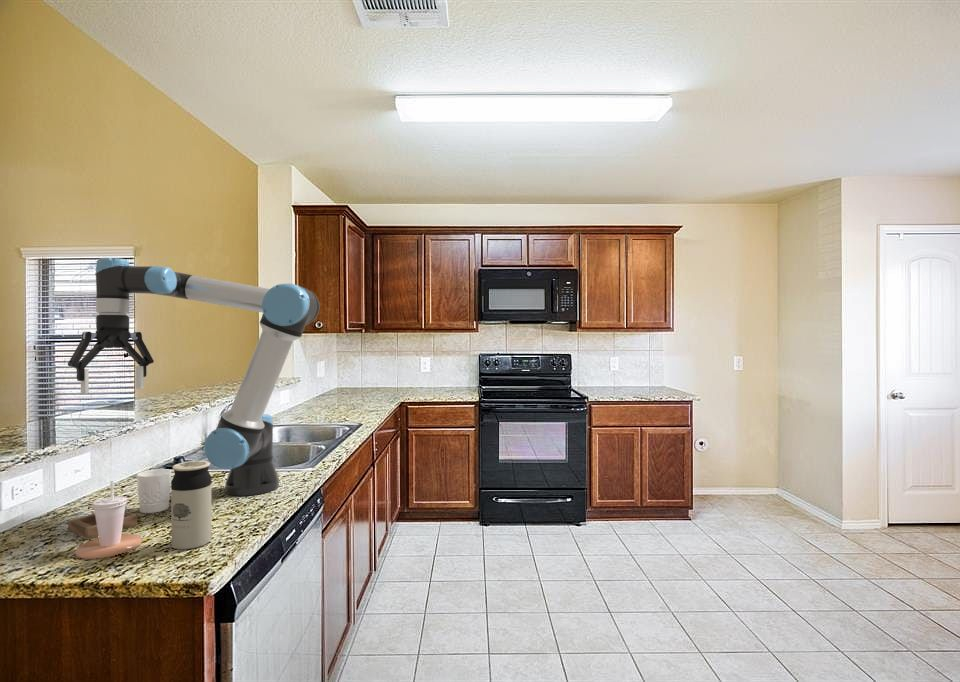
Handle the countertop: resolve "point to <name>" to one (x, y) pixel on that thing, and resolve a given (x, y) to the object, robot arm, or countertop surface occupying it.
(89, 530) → the brown square wooden frame
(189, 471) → the travel mug
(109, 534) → the smoothie
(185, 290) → the robot arm
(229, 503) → the countertop surface
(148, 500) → the white cup
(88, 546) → the coaster
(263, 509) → the countertop surface
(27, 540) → the countertop surface
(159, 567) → the countertop surface
